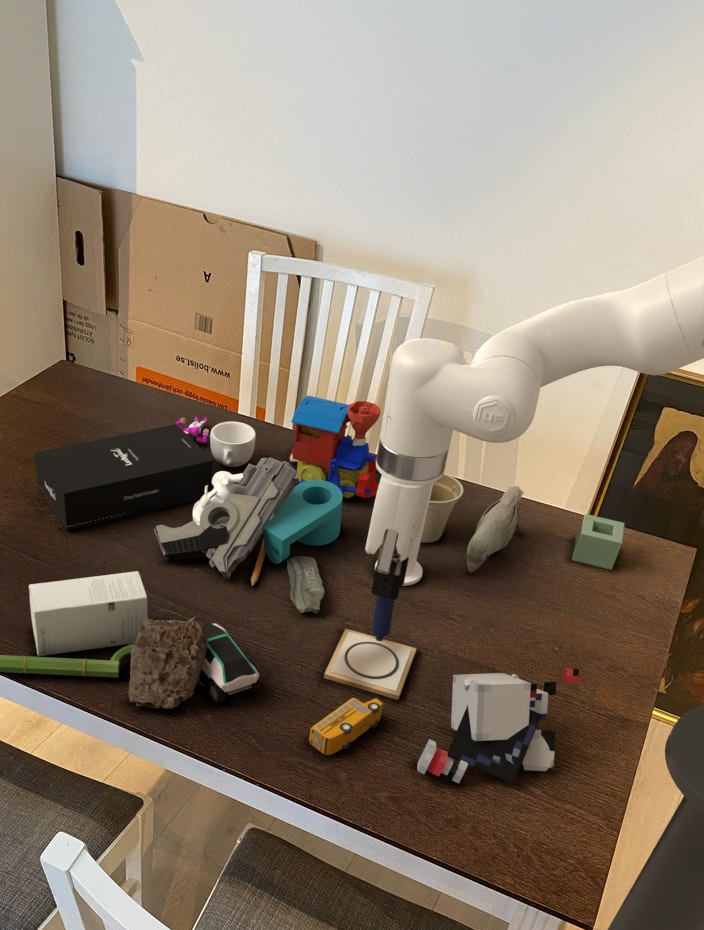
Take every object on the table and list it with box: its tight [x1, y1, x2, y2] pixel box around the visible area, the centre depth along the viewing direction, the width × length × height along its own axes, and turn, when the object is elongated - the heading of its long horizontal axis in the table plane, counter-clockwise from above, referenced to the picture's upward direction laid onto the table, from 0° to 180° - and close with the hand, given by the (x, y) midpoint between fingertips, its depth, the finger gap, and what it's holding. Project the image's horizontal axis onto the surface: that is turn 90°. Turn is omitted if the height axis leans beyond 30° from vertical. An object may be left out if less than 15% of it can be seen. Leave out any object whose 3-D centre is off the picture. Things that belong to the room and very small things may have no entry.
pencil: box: [250, 513, 275, 587], centre depth 143 cm, size 1×1×19 cm
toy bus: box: [308, 697, 384, 756], centre depth 114 cm, size 3×10×4 cm
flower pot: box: [420, 472, 464, 544], centre depth 146 cm, size 9×9×9 cm
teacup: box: [209, 421, 257, 468], centre depth 160 cm, size 10×8×5 cm
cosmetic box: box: [28, 570, 149, 657], centre depth 124 cm, size 8×6×15 cm
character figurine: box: [175, 415, 210, 444], centre depth 166 cm, size 6×5×12 cm
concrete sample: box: [126, 618, 208, 710], centre depth 117 cm, size 12×10×5 cm
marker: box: [371, 557, 397, 641], centre depth 116 cm, size 2×2×13 cm
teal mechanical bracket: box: [263, 480, 344, 565], centre depth 143 cm, size 7×15×8 cm
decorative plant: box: [0, 616, 205, 687], centre depth 121 cm, size 6×8×30 cm
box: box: [34, 423, 214, 531], centre depth 151 cm, size 25×14×7 cm, turn 117°
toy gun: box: [153, 457, 299, 580], centre depth 140 cm, size 4×21×15 cm
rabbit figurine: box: [192, 470, 244, 525], centre depth 144 cm, size 12×8×10 cm, turn 149°
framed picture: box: [323, 628, 417, 701], centre depth 124 cm, size 10×10×1 cm
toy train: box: [290, 394, 382, 499], centre depth 153 cm, size 10×16×15 cm, turn 68°
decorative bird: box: [466, 485, 524, 573], centre depth 144 cm, size 5×16×8 cm, turn 147°
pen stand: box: [571, 513, 626, 571], centre depth 145 cm, size 6×6×5 cm
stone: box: [286, 555, 325, 614], centre depth 136 cm, size 12×2×5 cm
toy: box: [416, 667, 580, 786], centre depth 112 cm, size 12×17×15 cm
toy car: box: [200, 622, 260, 704], centre depth 120 cm, size 6×12×5 cm, turn 28°
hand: (387, 587), depth 115 cm, fingers closed on marker, 2 cm apart
